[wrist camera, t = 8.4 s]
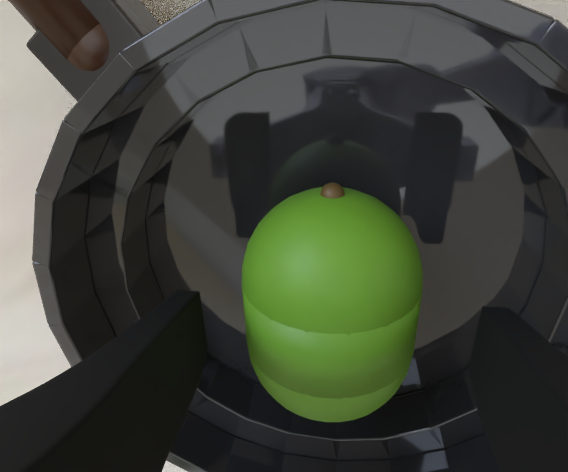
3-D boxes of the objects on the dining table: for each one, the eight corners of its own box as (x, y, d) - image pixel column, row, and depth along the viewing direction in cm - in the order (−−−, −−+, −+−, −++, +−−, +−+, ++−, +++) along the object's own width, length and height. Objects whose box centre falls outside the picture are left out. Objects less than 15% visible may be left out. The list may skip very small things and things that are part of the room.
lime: (253, 153, 13) (209, 223, 9) (419, 155, 12) (459, 230, 8) (265, 349, 16) (238, 466, 12) (395, 357, 16) (413, 483, 12)
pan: (733, 110, 11) (911, 155, 8) (437, 462, 19) (459, 566, 15) (148, -115, 11) (50, -179, 7) (86, 344, 18) (24, 424, 15)
